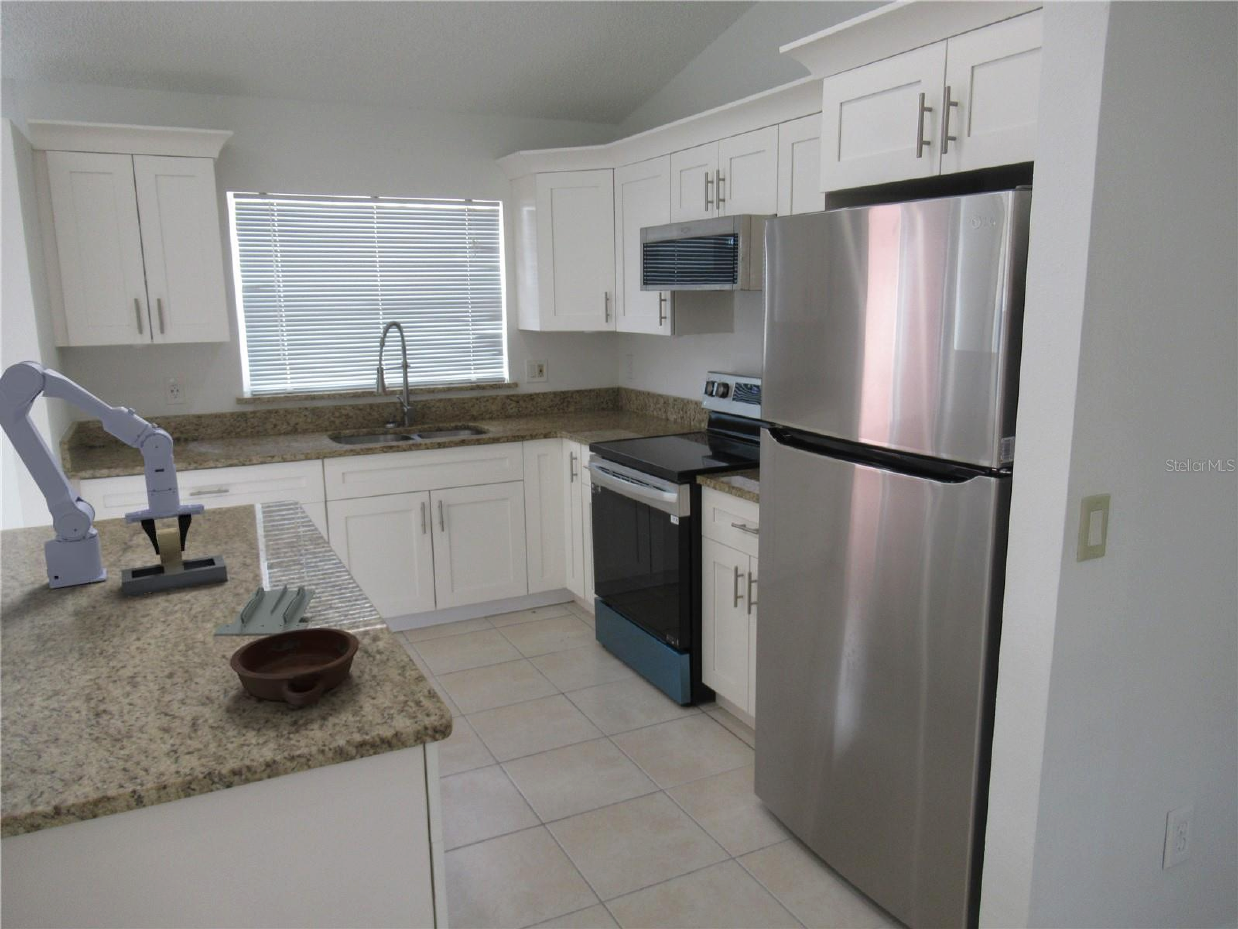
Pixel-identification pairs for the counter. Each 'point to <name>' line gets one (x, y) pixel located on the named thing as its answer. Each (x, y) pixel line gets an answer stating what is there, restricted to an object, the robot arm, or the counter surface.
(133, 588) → the grey slotted block
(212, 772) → the counter surface
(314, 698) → the dish
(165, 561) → the brass peg
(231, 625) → the metal bracket
